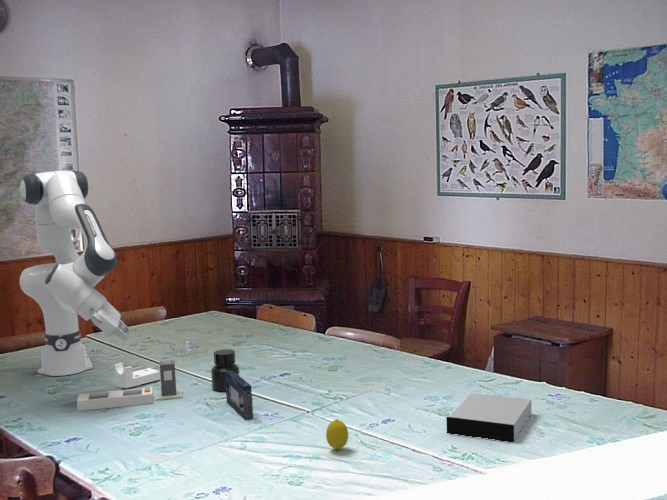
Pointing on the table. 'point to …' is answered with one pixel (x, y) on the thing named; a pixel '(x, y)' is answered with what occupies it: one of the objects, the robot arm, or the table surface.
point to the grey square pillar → (168, 378)
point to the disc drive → (490, 417)
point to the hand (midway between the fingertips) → (127, 335)
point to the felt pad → (178, 395)
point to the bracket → (134, 376)
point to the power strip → (115, 399)
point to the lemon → (337, 434)
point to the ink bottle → (223, 368)
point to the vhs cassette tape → (239, 395)
